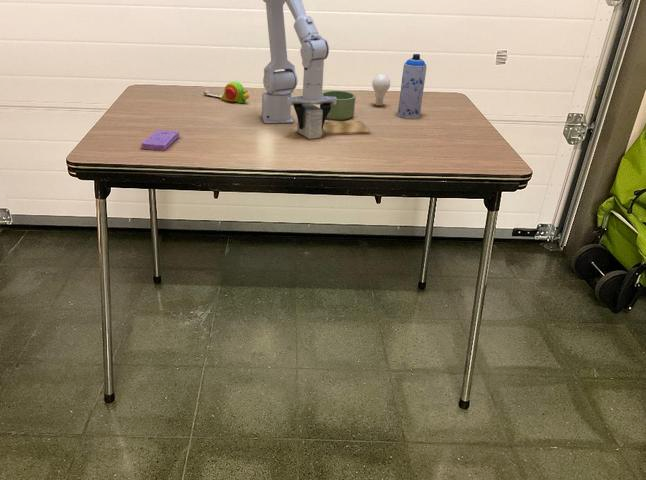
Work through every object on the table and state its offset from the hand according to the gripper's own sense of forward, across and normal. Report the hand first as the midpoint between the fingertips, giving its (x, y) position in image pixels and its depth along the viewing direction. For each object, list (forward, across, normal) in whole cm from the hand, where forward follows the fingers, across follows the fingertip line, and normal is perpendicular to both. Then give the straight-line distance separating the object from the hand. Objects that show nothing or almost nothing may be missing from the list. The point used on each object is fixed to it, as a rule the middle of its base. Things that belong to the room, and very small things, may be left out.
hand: (310, 128), depth 185 cm
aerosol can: (+3, +38, +19) cm, 43 cm away
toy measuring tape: (+2, -23, +42) cm, 48 cm away
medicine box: (+3, 0, +1) cm, 3 cm away
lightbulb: (+3, +31, +31) cm, 44 cm away
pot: (+2, +13, +20) cm, 24 cm away
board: (+2, +12, +6) cm, 14 cm away
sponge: (+3, -45, -3) cm, 45 cm away
